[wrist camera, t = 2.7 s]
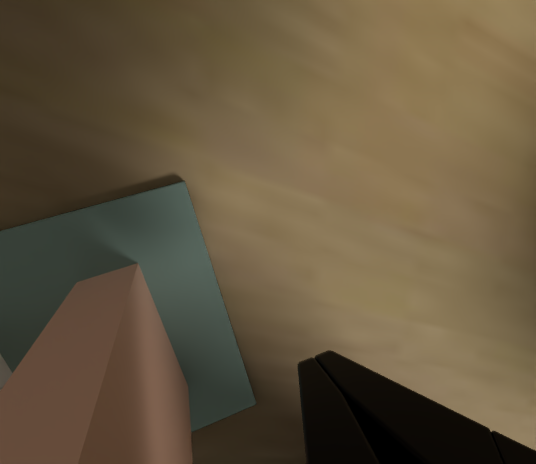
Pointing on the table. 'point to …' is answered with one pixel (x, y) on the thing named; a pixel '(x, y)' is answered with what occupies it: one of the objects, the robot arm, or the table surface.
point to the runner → (155, 274)
